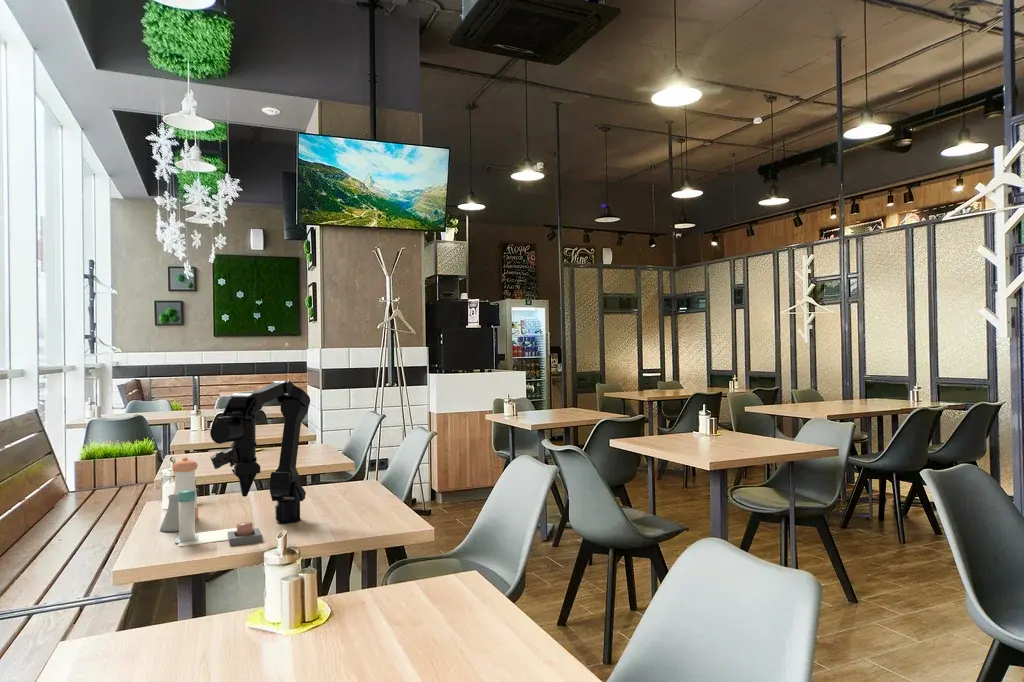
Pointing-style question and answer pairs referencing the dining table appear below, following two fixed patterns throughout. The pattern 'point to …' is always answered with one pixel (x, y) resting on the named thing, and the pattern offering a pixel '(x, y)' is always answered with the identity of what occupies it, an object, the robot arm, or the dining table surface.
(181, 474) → the pepper shaker
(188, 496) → the marker
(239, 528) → the button
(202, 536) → the paper
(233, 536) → the button collar
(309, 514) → the dining table surface
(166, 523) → the flask
